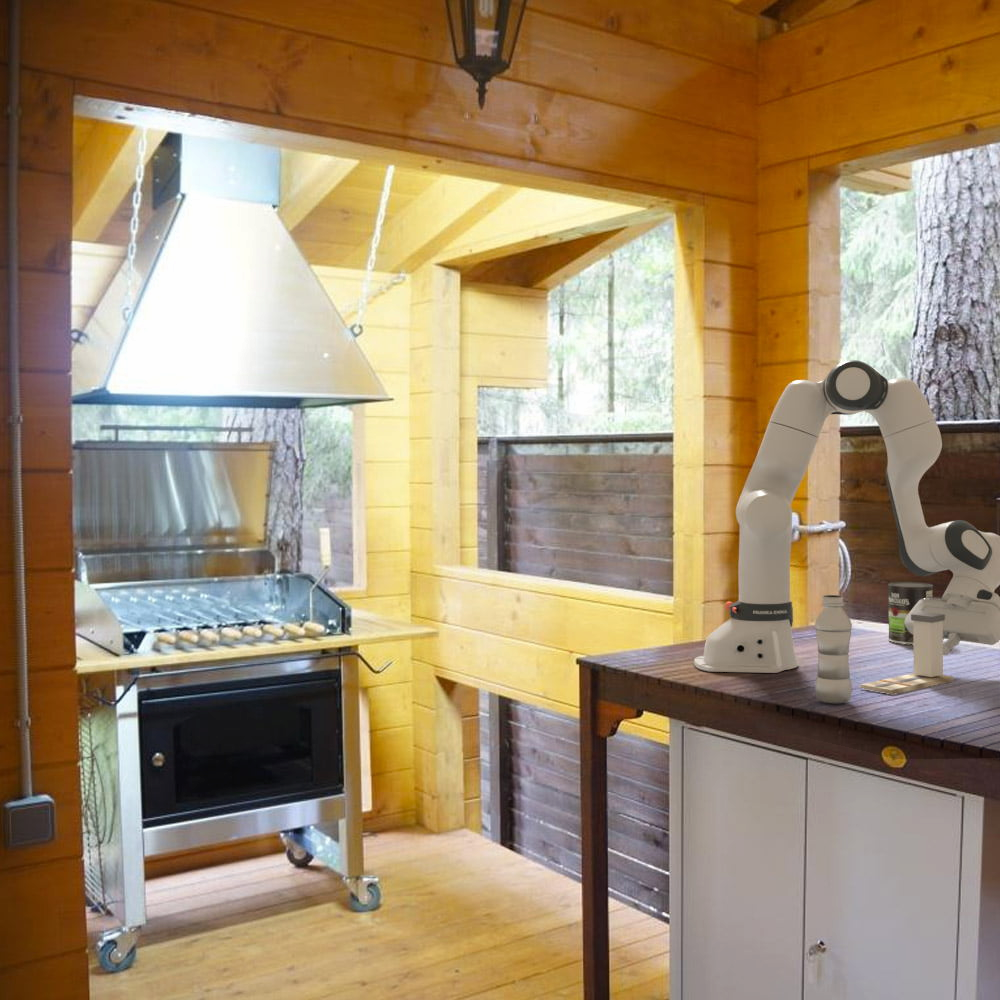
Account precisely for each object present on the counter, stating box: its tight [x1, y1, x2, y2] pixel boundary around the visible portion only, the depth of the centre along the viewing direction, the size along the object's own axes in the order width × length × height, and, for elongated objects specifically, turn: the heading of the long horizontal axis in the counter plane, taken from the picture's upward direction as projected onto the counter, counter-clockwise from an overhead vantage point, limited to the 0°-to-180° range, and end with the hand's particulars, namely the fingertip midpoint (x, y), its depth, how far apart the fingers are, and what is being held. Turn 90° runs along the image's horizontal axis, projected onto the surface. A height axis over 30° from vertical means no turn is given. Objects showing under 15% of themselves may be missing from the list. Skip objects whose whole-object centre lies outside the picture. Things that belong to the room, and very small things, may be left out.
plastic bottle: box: [814, 594, 853, 704], centre depth 207 cm, size 6×7×20 cm
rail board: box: [860, 672, 954, 695], centre depth 222 cm, size 20×7×1 cm, turn 125°
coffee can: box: [887, 581, 934, 644], centre depth 272 cm, size 10×10×14 cm
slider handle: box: [911, 612, 945, 677], centre depth 226 cm, size 5×5×12 cm
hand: (938, 652), depth 228 cm, fingers closed
